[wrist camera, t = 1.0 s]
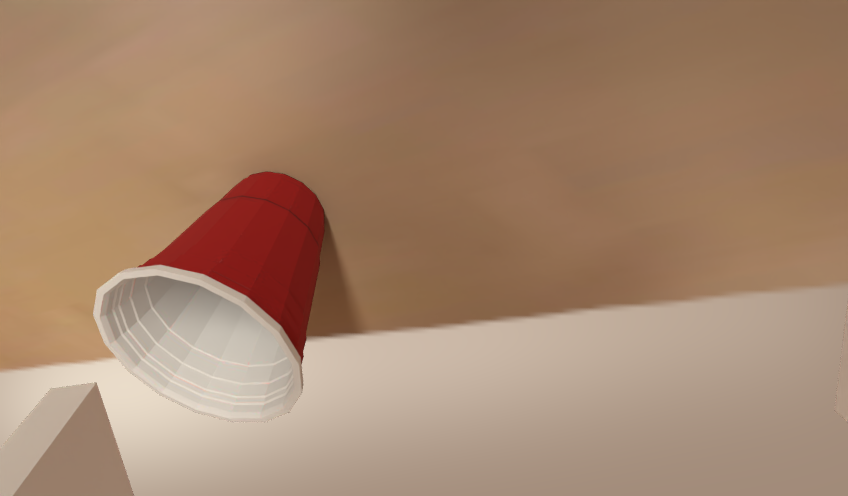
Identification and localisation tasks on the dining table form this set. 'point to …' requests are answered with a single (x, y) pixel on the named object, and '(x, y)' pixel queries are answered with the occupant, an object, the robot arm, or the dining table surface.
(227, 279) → the plastic cup
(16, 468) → the robot arm
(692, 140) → the dining table surface
